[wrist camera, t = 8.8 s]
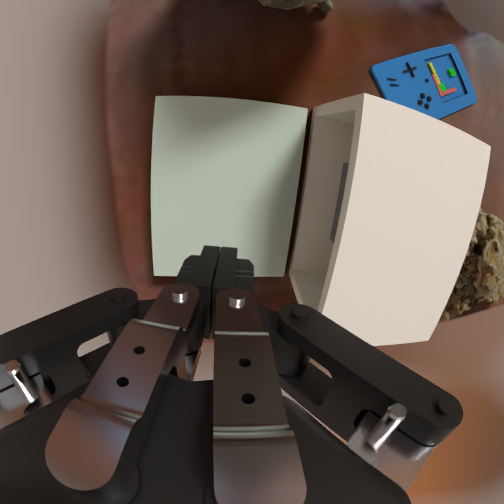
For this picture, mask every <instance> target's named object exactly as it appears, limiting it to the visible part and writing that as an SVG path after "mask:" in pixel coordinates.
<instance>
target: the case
mask: <svg viewBox="0 0 504 504" xmlns="http://www.w3.org/2000/svg"><path fill="white" fill-rule="evenodd" d="M490 149H491V146H489V145H487V144H485V143H484V142H482V141H480V140H478V139H476V138H475V137H473V136H471V135H469V134H467V133H465V132H463V131H461V130H459V129H457V128H455V127H453V126H451V125H449V124H446V123H444V122H442V121H440V120H438V119H435V118H433V117H431V116H428V115H426V114H423V113H421V112H418V111H416V110H413V109H411V108H408V107H405V106H403V105H400V104H397V103H394V102H391V101H388V100H385V99H382V98H379V97H376V96H372V95H369V94H366V93H363V94H359V95H355V96H351V97H347V98H344V99H340V100H337V101H333V102H330V103H326V104H323V105H320V106H316V107H313V112H312V121H311V129H310V137H309V145H308V153H307V160H306V168H305V175H304V182H303V189H302V196H301V202H300V209H299V215H298V222H297V228H296V234H295V240H294V246H293V252H292V258H291V263H290V269H289V276H290V279H291V283H292V286H293V289H294V292H295V295H296V299H297V302H298V304H303V305H307V306H309V307H312V308H313V309H315V310H317V311H318V312H320V313H321V314H323V315H324V316H326V317H328V318H329V319H331V320H332V321H334V322H335V323H337V324H339V325H340V326H342V327H343V328H345V329H346V330H348V331H350V332H351V333H353V334H354V335H356V336H358V337H359V338H361V339H362V340H364V341H365V342H367V343H369V344H370V345H372V346H378V345H391V344H401V343H410V342H419V341H427V340H429V338H430V336H431V334H432V332H433V331H434V329H435V327H436V325H437V323H438V321H439V319H440V317H441V315H442V312H443V310H444V308H445V306H446V304H447V302H448V299H449V297H450V295H451V292H452V290H453V288H454V285H455V283H456V280H457V278H458V275H459V273H460V270H461V267H462V264H463V262H464V259H465V256H466V253H467V250H468V247H469V244H470V241H471V238H472V234H473V231H474V228H475V224H476V220H477V217H478V213H479V209H480V205H481V200H482V196H483V191H484V186H485V181H486V176H487V170H488V164H489V157H490Z"/></svg>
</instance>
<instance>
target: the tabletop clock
mask: <svg viewBox="0 0 504 504" xmlns="http://www.w3.org/2000/svg"><path fill="white" fill-rule="evenodd" d="M258 1H259V2H260V3H261V4H262V5H263V6H264V7H271V8H278V9H284V10H289V9H294V8H298V7H302V6H306V5H310V4H314V3H317V5H318V8H319V9H320V10H321V11H324V12H329V11H331V10H332V9H333V3H332V2H331V1H330V0H258Z"/></svg>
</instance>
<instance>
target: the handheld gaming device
mask: <svg viewBox="0 0 504 504" xmlns="http://www.w3.org/2000/svg"><path fill="white" fill-rule="evenodd" d="M370 71H371V73H372V75H373V77H374V79H375V81H376V83H377V85H378V87H379V89H380V91H381V93H382V95H383V97H384V99H385V100H388V101H391V102H394V103H397V104H400V105H403V106H405V107H408V108H411V109H413V110H416V111H418V112H421V113H423V114H426V115H428V116H431V117H433V118H435V119H438V120H439V119H441V118H443V117H445V116H447V115H449V114H452V113H454V112H456V111H458V110H461V109H463V108H465V107H467V106H470V105H472V104H474V103H476V101H477V98H476V95H475V92H474V89H473V86H472V84H471V81H470V79H469V76H468V74H467V71H466V69H465V66H464V64H463V62H462V60H461V57H460V55H459V53H458V51H457V49H456V47H455V46H454V45H452V44H449V45H444V46H440V47H435V48H431V49H427V50H423V51H419V52H415V53H412V54H408V55H405V56H401V57H398V58H395V59H391V60H388V61H385V62H382V63H379V64H376V65H373V66H371V68H370Z"/></svg>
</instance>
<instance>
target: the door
mask: <svg viewBox="0 0 504 504" xmlns="http://www.w3.org/2000/svg"><path fill="white" fill-rule="evenodd" d="M307 112H308V109H306V108H301V107H295V106H290V105H283V104H277V103H270V102H262V101H254V100H245V99H234V98H221V97H203V96H156V98H155V109H154V121H153V136H152V158H151V231H152V253H153V269H154V276H177V275H178V273H179V271H180V268H181V267H182V264H183V262H184V260H185V259H186V258H188V257H189V256H191V255H201V252H202V249H203V247H204V245H209V246H220V248H221V247H234V248H238V251H237V258H238V259H249V260H250V261H251V262H252V264H253V265H254V277H284V273H285V267H286V261H287V255H288V249H289V243H290V236H291V230H292V224H293V217H294V210H295V204H296V197H297V190H298V183H299V176H300V168H301V161H302V153H303V145H304V137H305V129H306V121H307Z"/></svg>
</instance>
